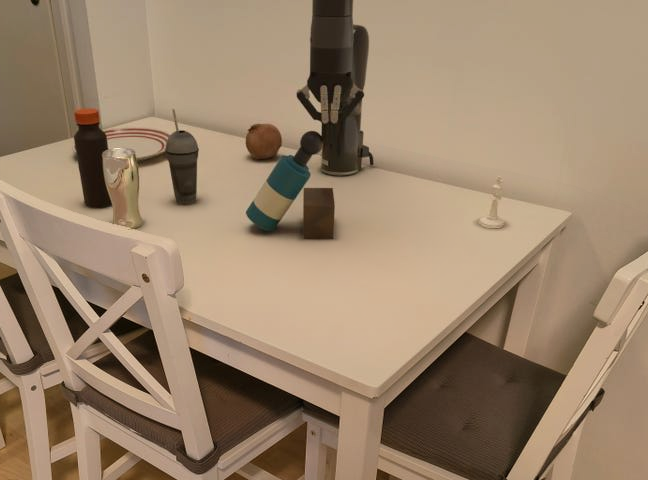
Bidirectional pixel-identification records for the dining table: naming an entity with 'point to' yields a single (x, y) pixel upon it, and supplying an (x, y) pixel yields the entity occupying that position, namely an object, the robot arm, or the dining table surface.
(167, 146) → the beverage cup
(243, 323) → the dining table surface
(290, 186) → the striped banded cylinder
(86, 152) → the vinegar
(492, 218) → the chess piece
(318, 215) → the walnut block
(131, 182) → the beer glass
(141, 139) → the dinner plate
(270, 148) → the onion
